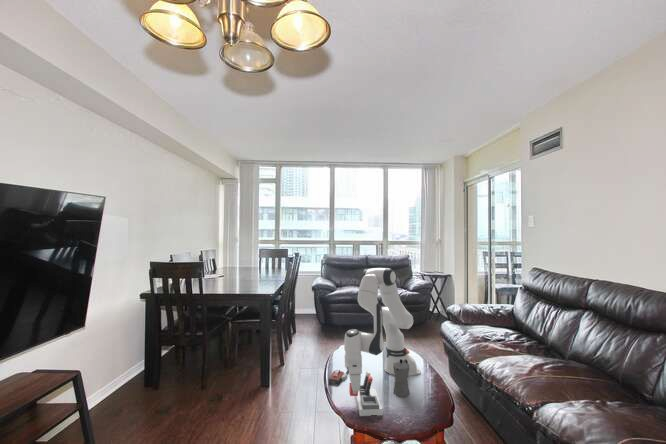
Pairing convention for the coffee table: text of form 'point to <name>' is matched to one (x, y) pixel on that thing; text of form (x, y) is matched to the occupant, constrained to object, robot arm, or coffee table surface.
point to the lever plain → (366, 379)
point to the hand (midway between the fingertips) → (353, 390)
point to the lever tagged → (368, 385)
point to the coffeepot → (401, 378)
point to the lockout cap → (352, 391)
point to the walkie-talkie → (337, 377)
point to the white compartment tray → (368, 403)
